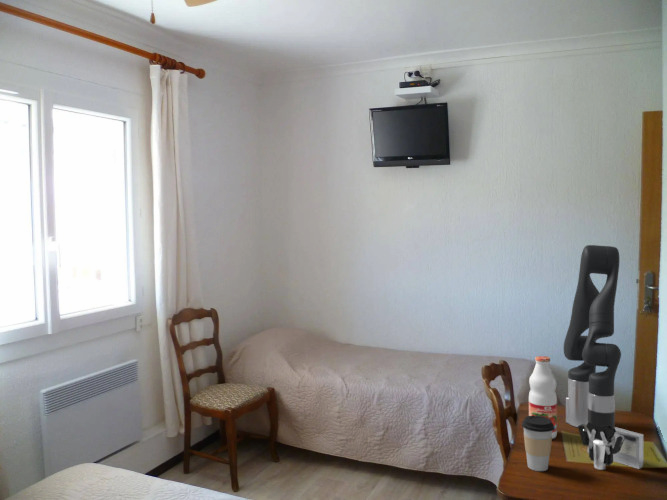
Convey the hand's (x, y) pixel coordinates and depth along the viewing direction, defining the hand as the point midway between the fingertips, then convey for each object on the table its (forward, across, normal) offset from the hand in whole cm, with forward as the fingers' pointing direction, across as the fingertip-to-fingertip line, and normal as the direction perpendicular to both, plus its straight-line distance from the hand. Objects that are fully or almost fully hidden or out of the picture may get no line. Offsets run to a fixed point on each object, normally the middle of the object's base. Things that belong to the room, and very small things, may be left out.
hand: (600, 462), depth 173 cm
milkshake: (+2, 0, 0) cm, 2 cm away
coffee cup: (+2, +13, +14) cm, 19 cm away
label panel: (+2, 0, -9) cm, 9 cm away
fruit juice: (+2, +26, -11) cm, 28 cm away
